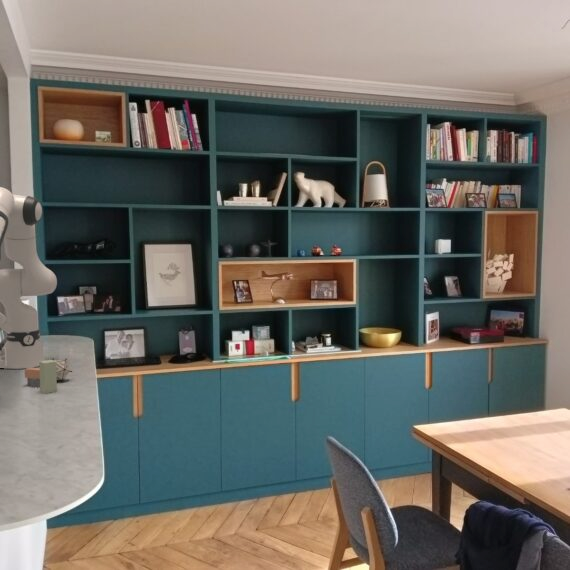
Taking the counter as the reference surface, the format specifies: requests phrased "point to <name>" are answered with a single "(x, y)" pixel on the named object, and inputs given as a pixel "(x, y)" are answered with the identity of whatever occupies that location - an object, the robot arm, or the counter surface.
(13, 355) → the robot arm
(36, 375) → the terracotta brick
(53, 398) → the counter surface
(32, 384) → the charcoal brick
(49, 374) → the green block
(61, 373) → the game die
